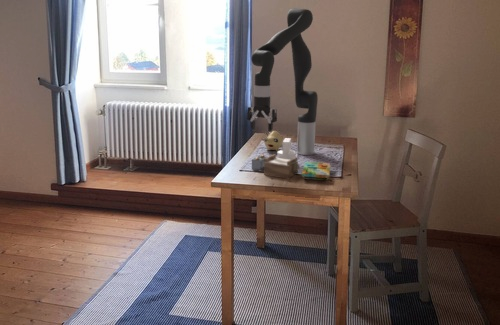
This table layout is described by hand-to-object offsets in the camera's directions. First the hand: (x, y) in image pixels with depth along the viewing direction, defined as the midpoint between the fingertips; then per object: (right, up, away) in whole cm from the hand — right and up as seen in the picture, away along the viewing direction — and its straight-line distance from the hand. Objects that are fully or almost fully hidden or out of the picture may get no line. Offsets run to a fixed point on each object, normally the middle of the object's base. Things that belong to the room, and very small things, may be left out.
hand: (261, 130), depth 223 cm
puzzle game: (+25, -21, -6) cm, 33 cm away
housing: (-1, -18, +5) cm, 19 cm away
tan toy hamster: (+7, -9, +40) cm, 41 cm away
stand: (+9, -20, -4) cm, 22 cm away
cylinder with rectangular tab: (+12, -16, +13) cm, 24 cm away
